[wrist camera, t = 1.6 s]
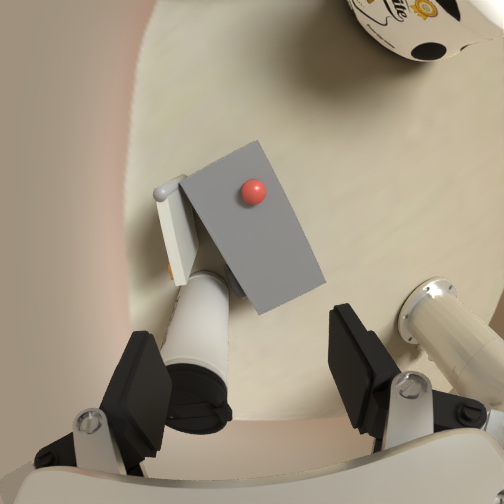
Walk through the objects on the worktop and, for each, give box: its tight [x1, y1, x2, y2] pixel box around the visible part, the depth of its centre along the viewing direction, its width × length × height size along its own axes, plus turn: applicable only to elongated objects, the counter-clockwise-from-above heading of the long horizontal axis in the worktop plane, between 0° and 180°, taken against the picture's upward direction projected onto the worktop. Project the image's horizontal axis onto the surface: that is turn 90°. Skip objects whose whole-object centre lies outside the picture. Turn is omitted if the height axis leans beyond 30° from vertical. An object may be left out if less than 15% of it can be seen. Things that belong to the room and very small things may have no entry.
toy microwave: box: [180, 140, 326, 315], centre depth 30 cm, size 16×9×7 cm, turn 27°
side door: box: [153, 175, 199, 286], centre depth 27 cm, size 9×2×10 cm, turn 7°
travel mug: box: [160, 271, 232, 435], centre depth 27 cm, size 6×7×20 cm
